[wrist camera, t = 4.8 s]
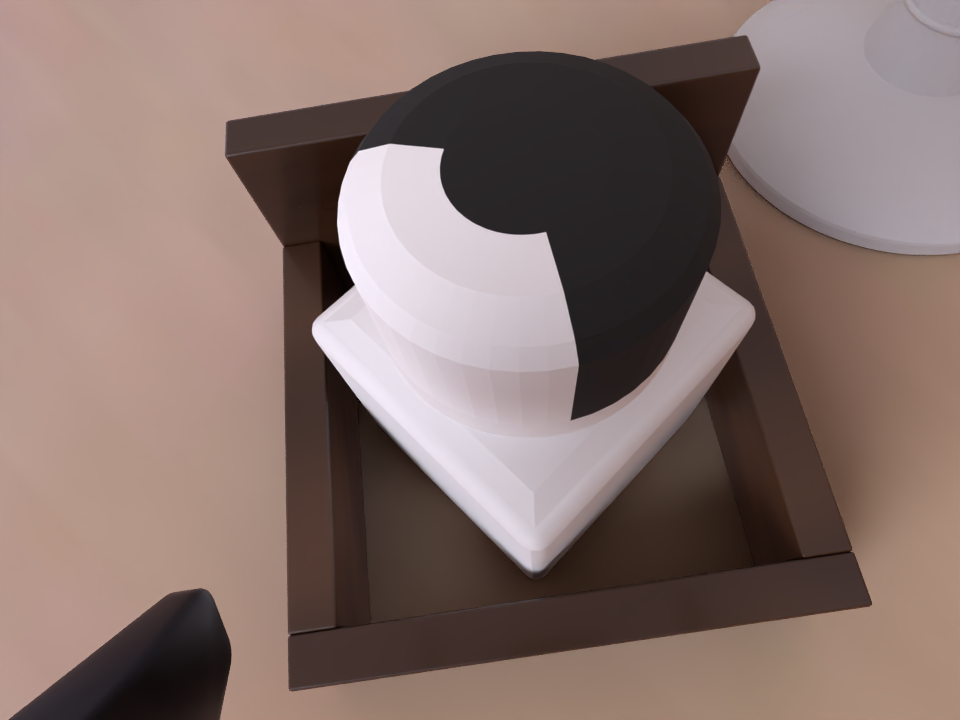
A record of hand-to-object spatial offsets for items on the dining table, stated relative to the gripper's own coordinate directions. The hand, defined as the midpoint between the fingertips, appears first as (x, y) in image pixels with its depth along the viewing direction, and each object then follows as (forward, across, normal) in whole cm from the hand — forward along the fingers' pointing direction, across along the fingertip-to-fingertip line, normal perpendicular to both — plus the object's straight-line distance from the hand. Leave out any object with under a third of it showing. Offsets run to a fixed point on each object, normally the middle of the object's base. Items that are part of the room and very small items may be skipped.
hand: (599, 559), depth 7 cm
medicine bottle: (+12, 0, +5) cm, 13 cm away
